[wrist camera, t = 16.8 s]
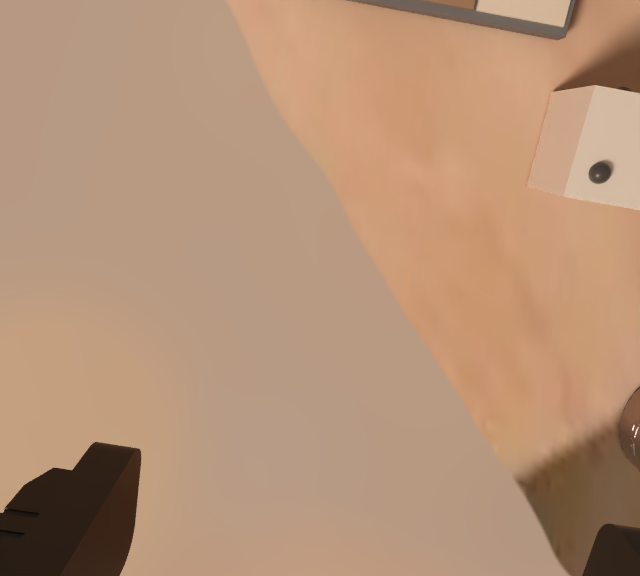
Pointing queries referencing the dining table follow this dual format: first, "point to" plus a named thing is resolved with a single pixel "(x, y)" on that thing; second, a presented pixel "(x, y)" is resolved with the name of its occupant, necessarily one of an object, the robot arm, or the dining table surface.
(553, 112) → the die
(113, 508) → the robot arm
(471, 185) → the dining table surface
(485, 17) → the board
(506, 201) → the dining table surface
